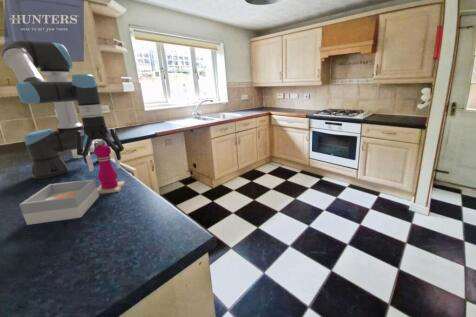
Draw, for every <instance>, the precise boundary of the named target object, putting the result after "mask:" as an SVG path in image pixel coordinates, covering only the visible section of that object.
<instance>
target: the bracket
mask: <svg viewBox="0 0 476 317" xmlns="http://www.w3.org/2000/svg"><path fill="white" fill-rule="evenodd" d="M96 141H102V139H96V140H93V142H92V144H91V147H90V150H89V154H88V155H91V153H94V149H95V148H94V144H95V143H94V142H96ZM70 151H71V155H72V158H73V159H77V158H78V159H82V158H81V157H83V156H81V155H77V149H75V150H70ZM83 151H84V148H83Z"/></svg>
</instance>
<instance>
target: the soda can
mask: <svg viewBox="0 0 476 317" xmlns="http://www.w3.org/2000/svg"><path fill="white" fill-rule="evenodd" d="M101 141H102V142H103V143H104V144H103V145H107V146H108V144H107V143H106V142H105V141H104V140H103V139H101ZM99 142H100V141H96V142H94V143H95V144H94V148H95V147H97V146H99ZM97 157H98V156H96V160H97V161H98V159H97Z"/></svg>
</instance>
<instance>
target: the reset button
mask: <svg viewBox="0 0 476 317" xmlns="http://www.w3.org/2000/svg"><path fill="white" fill-rule="evenodd" d="M76 194H77V193H69V194H61V195H58V196H56V197H55V198H54V199H58V198H66V197H73V196H74V195H76Z"/></svg>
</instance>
